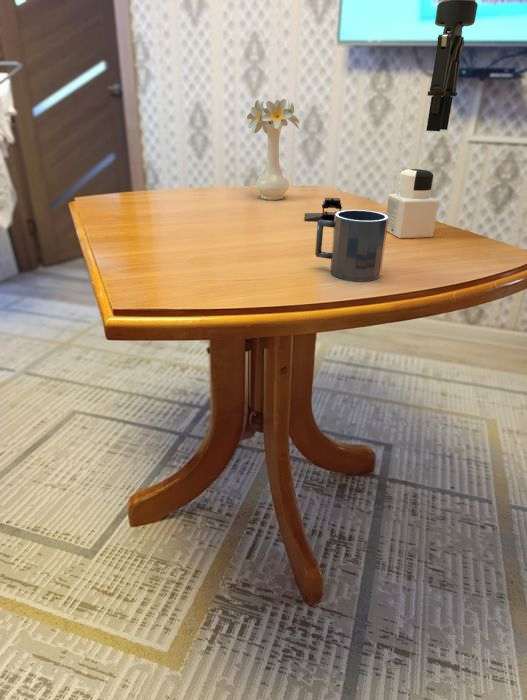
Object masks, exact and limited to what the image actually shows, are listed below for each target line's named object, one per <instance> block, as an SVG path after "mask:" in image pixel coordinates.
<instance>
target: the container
mask: <svg viewBox="0 0 527 700" xmlns="http://www.w3.org/2000/svg"><path fill="white" fill-rule="evenodd" d="M433 181H434V173H433V172H431V171H430V170H427V169H419V168H408V169H404V170H402V171H401V172H400V175H399V180H398V187H397V188H398V189H397V192H398V193H389V194H388V198H387V205H386V213H385V215H387V216H388V217H389V218H388V226H387V232H388V233H389V234H391V235H393V236H395V237H396V238H398V239H423V238H433V236H434V231H435V225H436V220H437V215H438V208H439V202H440V201H439V199H437V198H434V197H431V196H430V194H431V193H432V186H433Z"/></svg>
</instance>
